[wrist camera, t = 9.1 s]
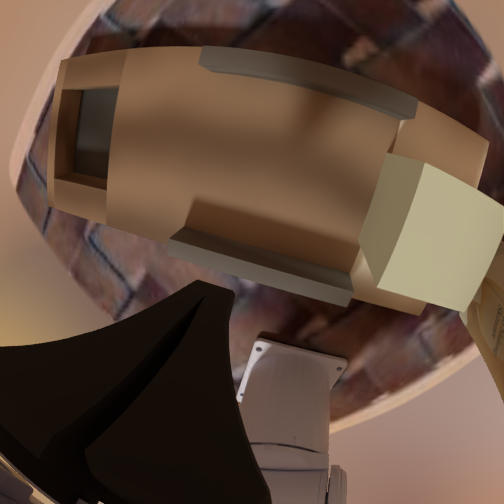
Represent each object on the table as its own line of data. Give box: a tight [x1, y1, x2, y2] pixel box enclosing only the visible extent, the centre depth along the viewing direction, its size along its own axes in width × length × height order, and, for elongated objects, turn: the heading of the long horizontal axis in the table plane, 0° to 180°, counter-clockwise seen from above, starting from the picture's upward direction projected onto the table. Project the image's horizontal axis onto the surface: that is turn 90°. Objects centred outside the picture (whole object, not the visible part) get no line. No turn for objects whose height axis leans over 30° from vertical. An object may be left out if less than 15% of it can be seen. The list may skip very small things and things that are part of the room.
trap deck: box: [47, 46, 489, 316], centre depth 14 cm, size 12×29×4 cm, turn 78°
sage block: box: [358, 153, 504, 312], centre depth 11 cm, size 5×5×5 cm
